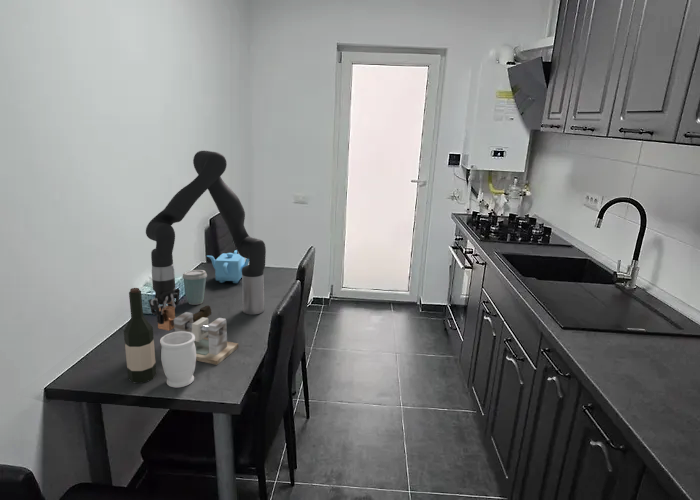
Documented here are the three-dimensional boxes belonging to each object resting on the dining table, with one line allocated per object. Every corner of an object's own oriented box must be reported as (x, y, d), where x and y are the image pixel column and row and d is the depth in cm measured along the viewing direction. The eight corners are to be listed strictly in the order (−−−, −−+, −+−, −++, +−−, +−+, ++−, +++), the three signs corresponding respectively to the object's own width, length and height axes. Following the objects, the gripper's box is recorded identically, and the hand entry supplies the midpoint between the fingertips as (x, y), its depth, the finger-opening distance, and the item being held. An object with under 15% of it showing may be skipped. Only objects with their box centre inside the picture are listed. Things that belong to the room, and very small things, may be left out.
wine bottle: (162, 372, 151) (155, 286, 144) (143, 385, 144) (135, 295, 136) (141, 367, 154) (134, 283, 146) (122, 380, 146) (113, 291, 138)
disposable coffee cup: (178, 304, 209) (176, 272, 205) (194, 296, 218) (193, 266, 214) (197, 308, 205) (195, 276, 201) (213, 300, 214) (211, 269, 211)
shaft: (164, 324, 172) (163, 304, 170) (220, 335, 165) (219, 314, 163) (158, 328, 169) (156, 308, 166) (215, 339, 162) (214, 318, 160)
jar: (168, 372, 152) (165, 330, 148) (200, 372, 152) (198, 330, 149) (158, 390, 141) (155, 346, 137) (193, 389, 142) (190, 345, 138)
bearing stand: (187, 337, 177) (186, 307, 173) (238, 347, 170) (237, 316, 167) (163, 353, 164) (161, 321, 160) (217, 364, 157) (215, 331, 154)
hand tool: (184, 331, 182) (184, 321, 181) (177, 329, 183) (176, 319, 182) (216, 315, 199) (215, 305, 198) (208, 313, 200) (208, 303, 199)
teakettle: (224, 288, 231) (223, 260, 228) (206, 278, 244) (204, 252, 240) (256, 280, 244) (255, 254, 241) (237, 272, 257) (236, 246, 253)
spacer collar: (203, 333, 169) (202, 317, 167) (209, 334, 168) (208, 318, 167) (192, 340, 163) (191, 323, 161) (198, 341, 162) (197, 324, 161)
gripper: (158, 284, 157) (161, 329, 161) (185, 272, 170) (187, 315, 174) (140, 281, 159) (144, 326, 163) (167, 270, 172) (170, 312, 176)
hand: (166, 320), depth 169 cm, fingers open, 5 cm apart
